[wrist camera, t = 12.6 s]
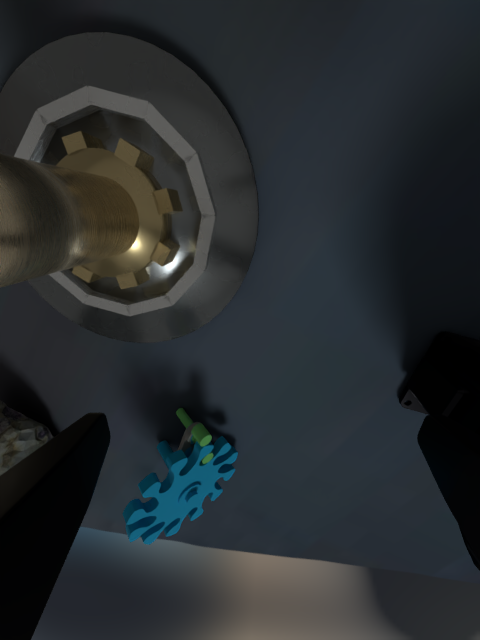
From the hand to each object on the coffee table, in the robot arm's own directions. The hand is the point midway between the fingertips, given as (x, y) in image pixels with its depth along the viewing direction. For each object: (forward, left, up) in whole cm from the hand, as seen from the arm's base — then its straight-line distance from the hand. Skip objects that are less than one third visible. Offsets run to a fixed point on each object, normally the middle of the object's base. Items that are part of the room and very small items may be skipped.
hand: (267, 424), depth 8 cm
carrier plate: (+11, -3, -13) cm, 17 cm away
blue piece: (+2, +16, -13) cm, 21 cm away
